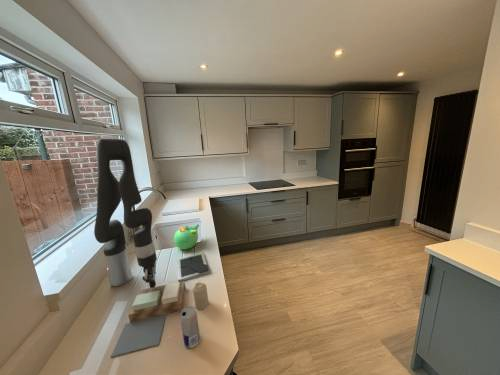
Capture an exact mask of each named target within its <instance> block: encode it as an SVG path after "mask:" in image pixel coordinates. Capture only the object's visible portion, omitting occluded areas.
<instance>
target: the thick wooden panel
mask: <svg viewBox="0 0 500 375" xmlns="http://www.w3.org/2000/svg"><path fill="white" fill-rule="evenodd" d="M166 285H167V284H164V285H159V286H155V287H153V288H150V287H149V288H145V289H140V290H138V292H137V294H136V297H137V295H140V294H145V293H150V292H154V291H159V290H160V298H159V302H158V305H157V306H153V307H149V308H144V309H140V310H135V311H133V307H132V306H131V308H130V310H129V311H128V314H127V316H128V320H129V323H130V322H134V321H138V320H142V319H147V318H151V317H155V316H160V315H164V314H166V316H167V315H171V314H176V313H181V311H182V310H183V309H184V304H185V303H184V301H185V295H186V290H187V288H186V280H185V281H182V282H180V291H179V297H178V301H176V302H171V303H167V304H162V296H163V293H164V289H165V286H166ZM136 297H135V298H136Z"/></svg>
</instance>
